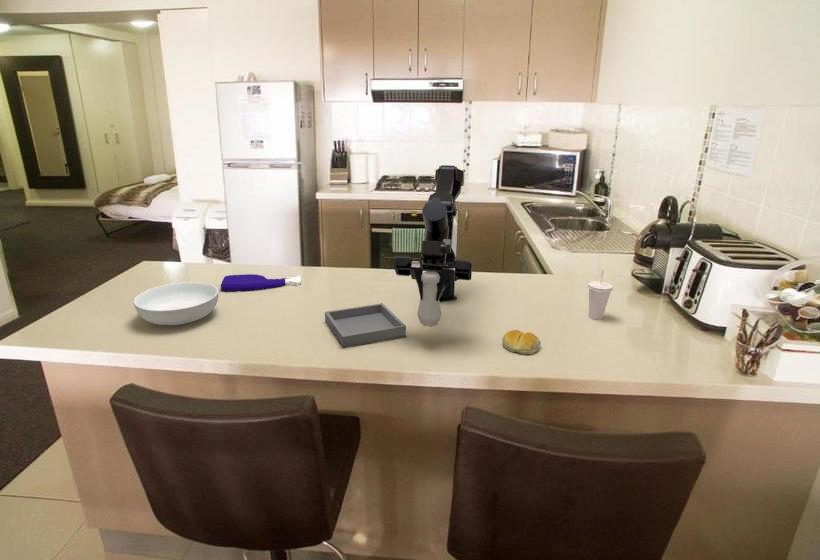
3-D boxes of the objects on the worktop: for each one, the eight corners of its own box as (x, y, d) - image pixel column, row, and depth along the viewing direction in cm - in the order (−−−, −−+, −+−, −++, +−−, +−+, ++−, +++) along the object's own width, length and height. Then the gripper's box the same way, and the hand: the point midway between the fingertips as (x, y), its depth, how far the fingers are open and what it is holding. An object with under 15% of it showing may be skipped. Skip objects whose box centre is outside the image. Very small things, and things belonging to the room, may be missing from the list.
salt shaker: (438, 329, 117) (440, 277, 112) (415, 326, 118) (416, 275, 114) (442, 319, 122) (444, 269, 118) (419, 317, 123) (421, 267, 119)
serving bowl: (118, 326, 129) (114, 301, 127) (180, 299, 148) (177, 277, 145) (180, 340, 122) (176, 314, 120) (237, 310, 140) (234, 287, 138)
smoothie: (607, 314, 141) (614, 268, 137) (608, 323, 136) (615, 274, 131) (583, 311, 143) (590, 265, 139) (583, 319, 137) (590, 272, 133)
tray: (382, 313, 140) (382, 303, 139) (405, 336, 126) (406, 326, 125) (325, 322, 133) (324, 311, 132) (343, 348, 119) (342, 336, 118)
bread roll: (508, 337, 127) (510, 322, 126) (542, 345, 122) (544, 331, 121) (496, 349, 120) (497, 334, 119) (531, 359, 116) (533, 343, 115)
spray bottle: (219, 285, 152) (300, 281, 157) (224, 274, 162) (300, 271, 167) (220, 294, 153) (301, 290, 158) (225, 282, 163) (300, 279, 168)
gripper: (395, 223, 117) (385, 282, 111) (474, 227, 114) (468, 288, 108) (400, 246, 127) (392, 302, 121) (473, 250, 124) (468, 308, 118)
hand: (429, 300), depth 117 cm, fingers closed on salt shaker, 3 cm apart
